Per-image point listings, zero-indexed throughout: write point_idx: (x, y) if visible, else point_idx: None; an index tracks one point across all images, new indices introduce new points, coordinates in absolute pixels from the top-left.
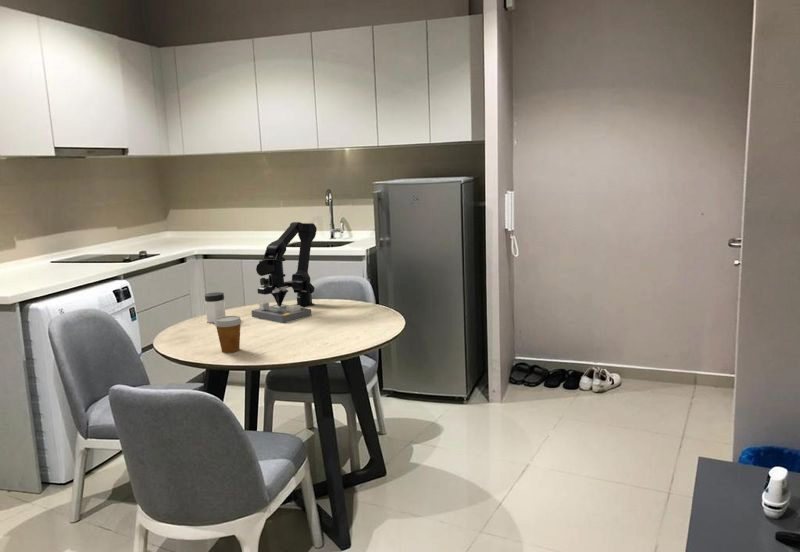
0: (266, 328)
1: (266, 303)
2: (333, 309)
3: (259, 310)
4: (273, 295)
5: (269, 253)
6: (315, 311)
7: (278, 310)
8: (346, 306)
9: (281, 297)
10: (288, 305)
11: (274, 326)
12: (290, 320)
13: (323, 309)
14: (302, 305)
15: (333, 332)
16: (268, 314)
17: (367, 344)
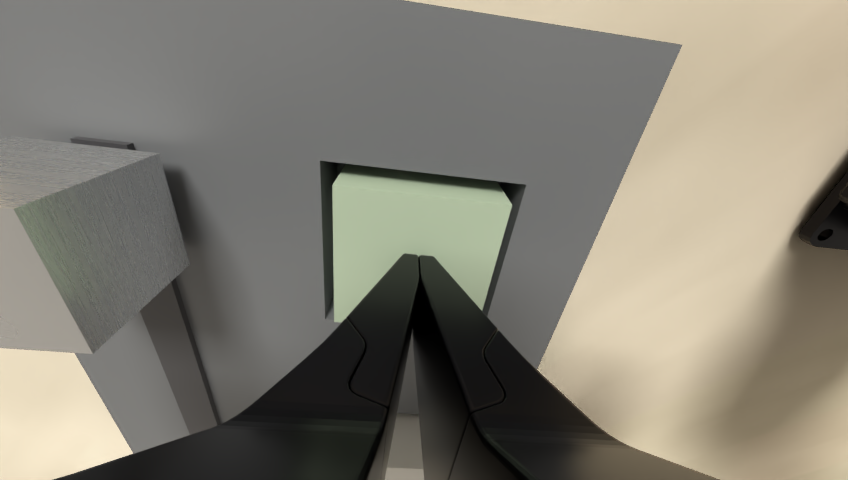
0: (35, 443)
1: (36, 335)
2: (683, 453)
3: (29, 124)
4: (252, 432)
5: None
6: (603, 407)
7: (273, 366)
8: (784, 463)
9: (427, 458)
10: (561, 289)
11: (110, 448)
12: None
13: (681, 413)
14: (844, 208)
15: None
16: (97, 374)
17: None
